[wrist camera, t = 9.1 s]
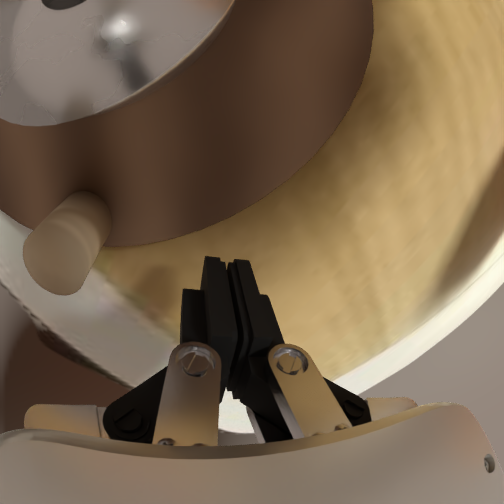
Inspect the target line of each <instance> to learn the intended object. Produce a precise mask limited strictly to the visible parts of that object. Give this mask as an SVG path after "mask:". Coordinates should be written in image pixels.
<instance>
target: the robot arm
mask: <svg viewBox="0 0 504 504" xmlns="http://www.w3.org/2000/svg"><path fill="white" fill-rule="evenodd" d="M225 388H227V391H232V395H233V399H240V402H241V403H243V404H244V405H246V410H247V414H248V417H249V419H250V422H251V424H252V427H253V429H254V432H255V434H256V437H257V439H258V442H259V444H249V445H235V446H217V440H218V439H217V437H218V418H219V404H220V403H221V402H222V398H223V395H224V391H225ZM0 504H504V473H503V470H502V468H501V465H500V463H499V461H498V459H497V456H496V454H495V452H494V450H493V448H492V446H491V444H490V442H489V440H488V438H487V436H486V434H485V432H484V431H483V429H482V427H481V426H480V424H479V422H478V421H477V419H476V418H475V417H474V415H473V414H472V413H471V411H470V410H469V409H468V408H466V407H464V406H463V405H460V404H457V403H448V402H437V403H430V404H425V405H421V406H417V404H416V403H415V402H414V401H413V400H412V399H410V398H406V397H396V398H366V399H365V400H363V399H362V398H360V397H359V396H357V395H355V394H353V393H351V392H350V391H348V390H346V389H344V388H342V387H340V386H338V385H337V384H335V383H333V382H331V381H329V380H328V379H326V378H324V377H322V375H321V373H320V372H319V370H318V368H317V367H316V365H315V363H314V362H313V360H312V358H311V357H310V355H309V354H308V353H307V352H306V351H305V350H303V349H302V348H300V347H298V346H296V345H292V344H285V343H284V340H283V337H282V334H281V331H280V328H279V325H278V323H277V320H276V317H275V314H274V311H273V308H272V305H271V302H270V300H269V297H268V296H267V295H263V294H260V293H259V290H258V287H257V284H256V280H255V277H254V274H253V271H252V268H251V264H250V262H249V260H239V259H234V261H233V263H231V262H229V263H228V267H227V270H226V264H225V262H221V261H220V258H219V257H209V256H205V260H204V266H203V273H202V280H201V287H200V290H194V289H183V293H182V305H181V324H180V345H178V346H177V347H176V348H175V349H174V350H173V351H172V353H171V355H170V359H169V364H168V366H167V367H165V368H164V369H162V370H161V371H159V372H158V373H156V374H155V375H154V376H152V377H151V378H149V379H148V380H146V381H145V382H143V383H142V384H140V385H139V386H137V387H136V388H134V389H133V390H131V391H130V392H128V393H127V394H125V395H124V396H122V397H120V398H119V399H117V400H116V401H114V402H113V403H112V404H111V405H109V406H108V407H96V405H52V404H50V405H49V404H38V405H34V406H32V407H31V408H30V409H29V410H28V411H27V413H26V415H25V419H24V429H20V430H14V431H10V432H6V433H3V434H1V435H0Z"/></svg>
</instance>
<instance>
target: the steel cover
mask: <svg viewBox="0 0 504 504" xmlns="http://www.w3.org/2000/svg"><path fill="white" fill-rule="evenodd" d="M235 2H236V0H0V118H1V119H3V120H6V121H8V122H10V123H14V124H19V125H23V126H47V125H56V124H60V123H64V122H69V121H73V120H77V119H81V118H85V117H90V116H94V115H99V114H103V113H107V112H110V111H113V110H117V109H120V108H122V107H125V106H127V105H130V104H132V103H135V102H137V101H138V100H140V99H142V98H144V97H146V96H148V95H150V94H152V93H154V92H155V91H157V90H158V89H160V88H162V87H163V86H165V85H167V84H168V83H169V82H171V81H172V80H173V79H175V78H176V77H177V76H179V75H180V74H181V73H183V72H184V71H185V70H186V69H187V68H188V67H189V66H191V65H192V64H193V63H194V62H195V61H196V60H197V59H198V58H199V57H200V56H201V55H202V54H203V53H204V52H205V51H206V50H207V49H208V48H209V46H210V45H211V44H212V42H213V41H214V40H215V38H216V37H217V36H218V35H219V33H220V32H221V30H222V28H223V27H224V25H225V23H226V22H227V20H228V18H229V16H230V14H231V11H232V9H233V7H234V4H235Z"/></svg>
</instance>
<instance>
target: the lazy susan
mask: <svg viewBox="0 0 504 504" xmlns="http://www.w3.org/2000/svg"><path fill="white" fill-rule="evenodd" d="M372 39H373V5H372V0H236V2H235V4H234V7H233V9H232V11H231V14H230V16H229V18H228V20H227V22H226V23H225V25H224V27H223V28H222V30H221V32H220V33H219V35H218V36H217V37H216V38H215V40H214V41H213V42H212V44H211V45H210V46H209V48H208V49H207V50H206V51H205V52H204V53H203V54H202V55H201V56H200V57H199V58H198V59H197V60H196V61H195V62H194V63H193V64H192V65H191V66H189V67H188V68H187V69H186V70H185V71H184V72H183V73H181V74H180V75H179V76H177V77H176V78H175V79H173V80H172V81H171V82H169V83H168V84H167V85H165V86H163V87H162V88H160V89H158V90H157V91H155V92H154V93H152V94H150V95H148V96H146V97H144V98H142V99H140V100H138V101H137V102H135V103H132V104H130V105H127V106H125V107H122V108H120V109H117V110H113V111H110V112H107V113H103V114H99V115H94V116H90V117H85V118H81V119H77V120H73V121H69V122H64V123H60V124H56V125H47V126H23V125H19V124H14V123H10V122H8V121H6V120H3V119H1V118H0V209H1V210H2V211H3V212H4V213H6V214H7V215H9V216H10V217H11V218H13V219H14V220H16V221H17V222H19V223H20V224H22V225H24V226H26V227H28V228H30V229H32V230H34V231H33V232H32V233H31V234H30V235H29V236H28V237H27V239H26V240H25V243H24V246H23V259H24V263H25V266H26V268H27V270H28V272H29V274H30V275H31V277H32V278H33V279H34V280H35V281H36V282H37V283H38V284H39V285H40V286H41V287H42V288H44V289H45V290H47V291H49V292H51V293H54V294H57V295H70V294H73V293H75V292H77V291H78V290H79V289H80V288H81V286H82V285H83V283H84V281H85V279H86V277H87V275H88V273H89V271H90V269H91V267H92V265H93V263H94V261H95V259H96V257H97V255H98V253H99V252H100V250H101V248H102V246H106V247H119V246H132V245H143V244H148V243H153V242H158V241H164V240H169V239H173V238H176V237H179V236H182V235H186V234H189V233H192V232H195V231H198V230H202V229H204V228H206V227H208V226H211V225H213V224H215V223H217V222H220V221H222V220H224V219H227V218H229V217H231V216H233V215H235V214H236V213H238V212H240V211H242V210H243V209H245V208H247V207H249V206H250V205H252V204H254V203H256V202H257V201H259V200H261V199H262V198H263V197H265V196H266V195H267V194H269V193H270V192H272V191H273V190H274V189H276V188H277V187H279V186H280V185H281V184H283V183H284V182H285V181H287V180H288V179H289V178H290V177H291V176H292V175H293V174H295V173H296V172H297V171H298V170H299V169H300V168H301V167H302V166H303V165H304V164H306V163H307V162H308V161H309V160H310V159H311V158H312V157H313V156H314V155H315V153H316V152H317V151H318V150H319V149H320V148H321V147H322V145H323V144H324V143H325V142H326V141H327V140H328V139H329V137H330V136H331V135H332V134H333V132H334V131H335V129H336V128H337V126H338V125H339V123H340V122H341V120H342V119H343V117H344V116H345V114H346V113H347V111H348V110H349V108H350V106H351V104H352V102H353V100H354V98H355V96H356V94H357V92H358V90H359V88H360V86H361V84H362V81H363V77H364V74H365V71H366V68H367V65H368V61H369V58H370V53H371V46H372Z"/></svg>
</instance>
